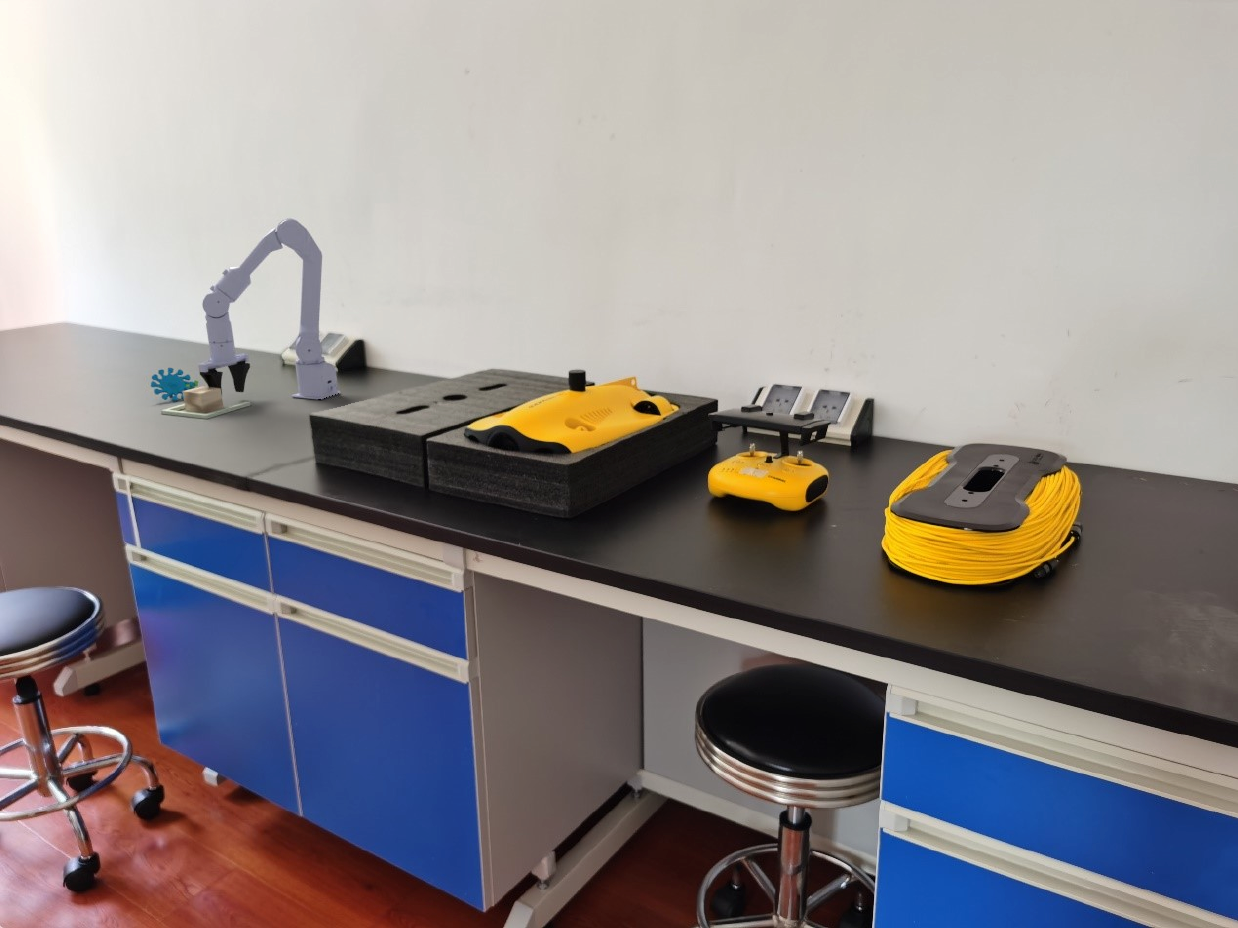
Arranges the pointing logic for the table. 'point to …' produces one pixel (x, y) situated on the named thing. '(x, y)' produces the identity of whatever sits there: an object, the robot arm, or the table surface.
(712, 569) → the table surface
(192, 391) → the block
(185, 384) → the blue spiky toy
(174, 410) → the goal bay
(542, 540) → the table surface
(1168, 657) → the table surface
